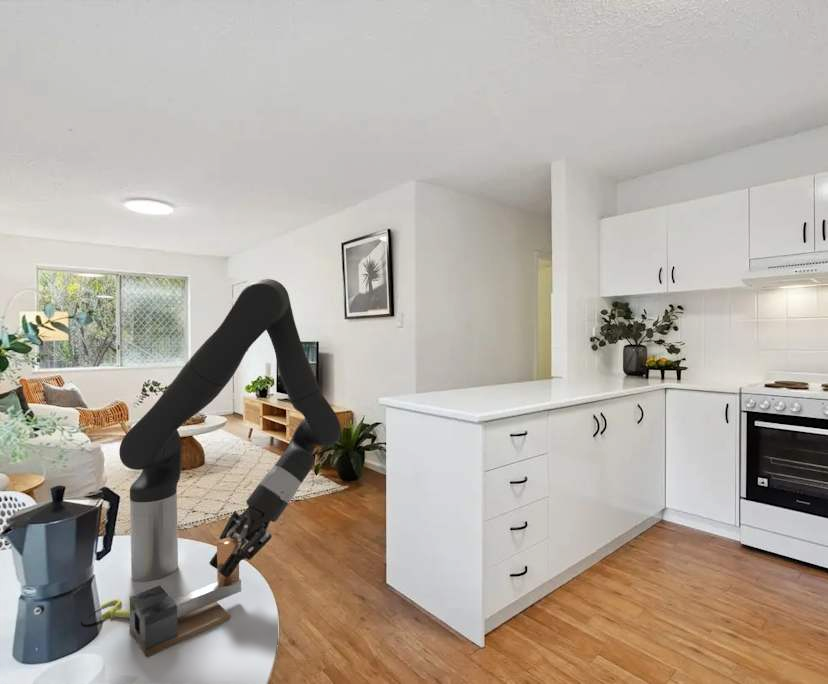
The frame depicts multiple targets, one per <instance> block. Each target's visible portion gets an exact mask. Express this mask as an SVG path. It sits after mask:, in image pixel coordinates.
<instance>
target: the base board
mask: <svg viewBox="0 0 828 684" xmlns="http://www.w3.org/2000/svg"><path fill="white" fill-rule="evenodd" d="M230 620H231V614H230V613H229V612H228V611H227V610H226V609H225V608H224V607H223V606H222V605H221V604H219V603H218V601H217V602H214V603H212V604H210V605H207V606H205V607H202V608H200V609H198V610H195V611H193V612H190V613H188V614H186V615H183V616H181V617H178V618H177V637H175V638H172V639H170V640H168V641H166V642H163V643H161V644H159V645H157V646H154V647H152V648H150V649H147V650H145V649H144V647H143V646H142V644H141V643H140V641H139V640H138V638H137V636H136V635H135V633H134V632H133V630H132V629H131V627H130V624H129V625H128V627H129V628H128V629H129V632H130V635H131V636H132V637H133V639H134V641H135V642H136V643H137V645H138V647H139V648H140V649H141V651H142V653H143V655H144V656H145V658H146V659H147V658H149V657H151V656H154V655H156V654H158V653H160V652H162V651H164V650H167V649H169V648H171V647H173V646H175V645H178V644H180V643H182V642H184V641H186V640H189V639H191V638H193V637H195V636H198V635H199V634H202V633H204V632H206V631H208V630H210V629H213V628H215V627H217V626H220V625H222V624H224V623H227V622H229V621H230Z"/></svg>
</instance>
